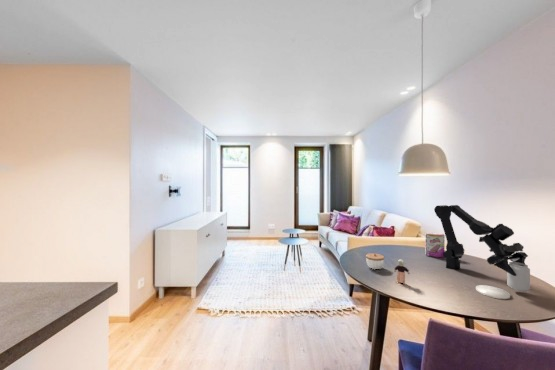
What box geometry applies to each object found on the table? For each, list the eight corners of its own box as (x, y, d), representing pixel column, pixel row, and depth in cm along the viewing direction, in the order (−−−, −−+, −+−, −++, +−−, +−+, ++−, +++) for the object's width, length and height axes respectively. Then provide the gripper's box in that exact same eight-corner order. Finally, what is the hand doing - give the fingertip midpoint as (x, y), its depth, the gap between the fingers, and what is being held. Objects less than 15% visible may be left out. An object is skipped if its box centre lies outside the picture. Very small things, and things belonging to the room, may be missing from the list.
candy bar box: (426, 256, 164) (425, 233, 164) (425, 254, 168) (424, 232, 168) (445, 258, 159) (444, 234, 159) (443, 256, 164) (442, 233, 164)
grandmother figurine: (393, 283, 122) (393, 259, 121) (393, 280, 125) (393, 257, 125) (410, 285, 118) (410, 261, 118) (409, 282, 122) (409, 259, 122)
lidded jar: (365, 270, 140) (365, 255, 140) (366, 264, 150) (365, 250, 150) (385, 272, 136) (384, 256, 136) (383, 266, 146) (383, 251, 146)
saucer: (477, 294, 108) (477, 292, 108) (474, 285, 118) (474, 283, 118) (512, 301, 101) (512, 299, 101) (507, 291, 110) (507, 289, 110)
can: (534, 292, 104) (534, 267, 104) (515, 291, 106) (515, 266, 106) (520, 285, 112) (521, 261, 112) (503, 284, 113) (503, 260, 113)
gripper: (493, 238, 111) (521, 269, 100) (523, 235, 114) (553, 265, 103) (476, 249, 118) (500, 279, 108) (504, 247, 122) (531, 275, 111)
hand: (521, 274), depth 107 cm, fingers closed on can, 7 cm apart
